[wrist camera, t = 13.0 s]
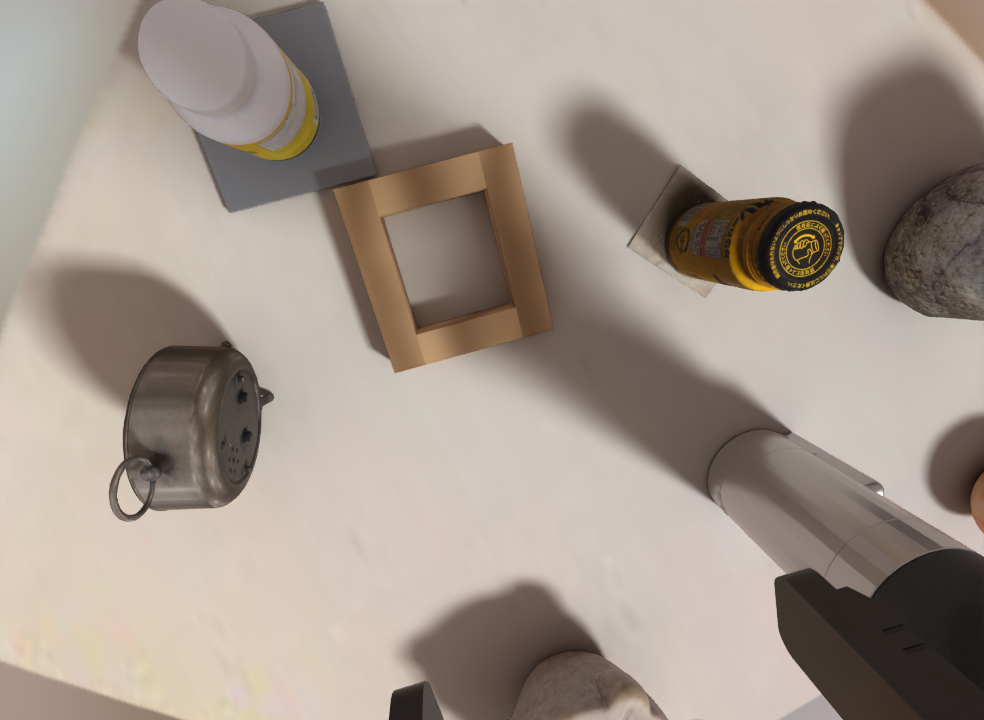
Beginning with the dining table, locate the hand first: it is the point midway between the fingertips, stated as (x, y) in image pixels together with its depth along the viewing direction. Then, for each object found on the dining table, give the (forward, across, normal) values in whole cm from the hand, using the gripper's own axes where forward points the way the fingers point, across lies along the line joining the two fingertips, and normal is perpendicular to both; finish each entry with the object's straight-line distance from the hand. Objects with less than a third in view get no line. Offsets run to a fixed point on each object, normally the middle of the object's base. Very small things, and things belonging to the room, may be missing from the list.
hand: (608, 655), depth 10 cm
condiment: (+30, -19, -4) cm, 36 cm away
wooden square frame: (+30, +1, -7) cm, 31 cm away
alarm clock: (+30, +20, -1) cm, 36 cm away
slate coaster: (+30, +10, -20) cm, 37 cm away
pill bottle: (+30, +10, -20) cm, 37 cm away
